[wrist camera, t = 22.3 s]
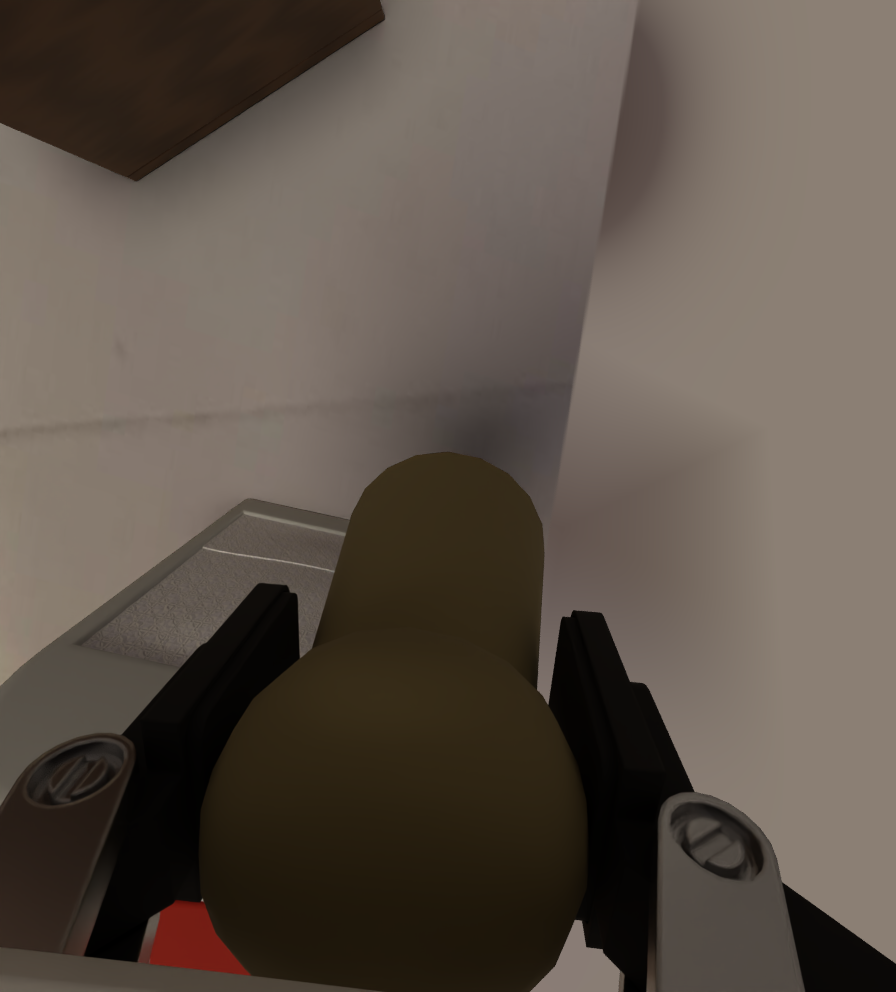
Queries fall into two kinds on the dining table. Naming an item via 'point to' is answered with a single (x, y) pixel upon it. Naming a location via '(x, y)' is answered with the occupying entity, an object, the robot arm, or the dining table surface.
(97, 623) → the white box red top
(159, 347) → the dining table surface
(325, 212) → the dining table surface
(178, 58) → the cupboard
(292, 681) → the brown rounded tall piece
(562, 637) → the robot arm
